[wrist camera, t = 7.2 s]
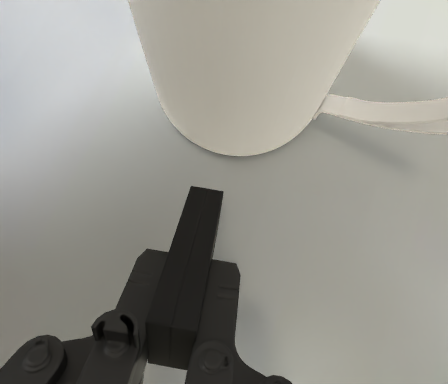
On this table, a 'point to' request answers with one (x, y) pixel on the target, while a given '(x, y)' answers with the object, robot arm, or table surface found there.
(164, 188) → the table surface
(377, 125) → the coffeepot
